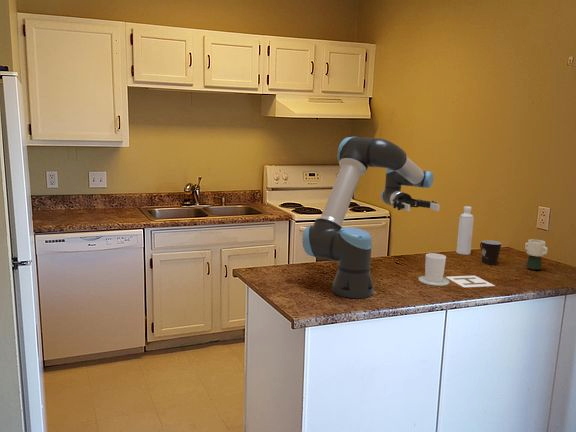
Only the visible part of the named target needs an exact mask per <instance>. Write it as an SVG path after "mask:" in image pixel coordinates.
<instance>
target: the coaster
mask: <svg viewBox="0 0 576 432" xmlns="http://www.w3.org/2000/svg"><path fill="white" fill-rule="evenodd" d="M418 282H420V283H421V284H424V285H427V286H433V287H434V286H435V287H444V286H445V287H446V286H448V285H450V280H449V279H448V278H446V277H443V281H442V282H431V281H428V280H426V279H425V275H421V276H419V277H418Z"/></svg>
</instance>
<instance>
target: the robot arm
mask: <svg viewBox="0 0 576 432" xmlns="http://www.w3.org/2000/svg"><path fill="white" fill-rule="evenodd" d="M336 158H337V161H338V164H339V168H340V169H339V172H338V173H337V176H336V179H335V181H334V184H333V186H332V189H331V190H330V194H329V197H328V198H327V201H326V204H325V206H324V209H323V210H322V213H321V216H320V217H317V218H316V219H315V220H314V222H313V225H312V224H311V225H308V226H306V227H305V229H304V230H303V233H302V239H301V240H302V242H301V243H302V247H303V250H304V252H305V253H306V254H307V256H310V257H314V258H316V259H324V260H329V261H332V262H337V267H338V268H337V272H336V274H335V277H334V279H333V281H332V285H331V286H332V287H331V291H332V293H333V294H335V295H337V296H340V297H344V298H349V299H351V298H352V299H364V298H368V297H371V296H373V295H374V286H373V285H374V284H373V281H372V276H371V272H370V270H371V259H372V257H371V256H372V247H373V244H372V241H373V240H372V236H371V235H372V234H370V233H369V232H368V231H366V230H364V229H361V228H357V227H351V226H345V227H343V223H344V221H345V217H346V215H347V211H348V209H349V207H350V204H351V201H352V198H353V197H354V194H355V191H356V189H357V185H358V183H359V181H360V178H361V176H363V175H365V174H366V172H367V171H368V168H381V169H382V168H384V169H385V170H386V171H385V181H384V182H385V184H384V189H383V190H382V191H381V194H380V199H381V200H382V202H383V203H385V204H386V205H388V206H392V207H393V209H397V211H401V210H403V211H406V212H411V208H427V209H430V210H433V211H436V212H440V207H441V206H440V204H438V203H437V202H436V201H434V200H432V201H431V200H425V199H424V200H423V199H418V198H417V199H415V198H413V197H412V196H411V195H410V194H409V193H406V192H402V186H406V187H414V188H415V187H416V188H422V189H425V188H426V189H427V188H431V187H432V186H433V183H434V174H433V172H432V171H428V170H423V169H422V168H420V167H419V165H417V164H416V163H415V162H414V161H412V159H410V158H409V157H408V156H407V153H406V151H405V150H404V149H403V148H401V147H400V146H399V145H397V144H395V143H394V142H391V141H390V140H387V139H386V138H380V137H379V138H378V137H359V136H350V137H345V138H344V139H342V141H341V142H340V144H339V146H338V148H337V155H336Z"/></svg>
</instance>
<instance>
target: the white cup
mask: <svg viewBox="0 0 576 432" xmlns="http://www.w3.org/2000/svg"><path fill="white" fill-rule="evenodd" d="M446 261H447V256H446V255H445V254H440V253H434V252H433V253H426V254H425V264H424V265H425V266H424V267H425V269H424V273H425V274H424V276H425V279H426V280H428V281H431V282H442V281H443V278H444V274H445V268H446Z"/></svg>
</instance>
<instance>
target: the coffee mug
mask: <svg viewBox="0 0 576 432" xmlns="http://www.w3.org/2000/svg"><path fill="white" fill-rule="evenodd" d="M479 247H480V250H481V263H482V264H483V263H484V265H487V264H488V266H496V265H497V264H498V260H499V256H500V251H501V248H502V242H500V241H497V240H490V239H489V240H488V239H486V240H481V242H480V244H479Z"/></svg>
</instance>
